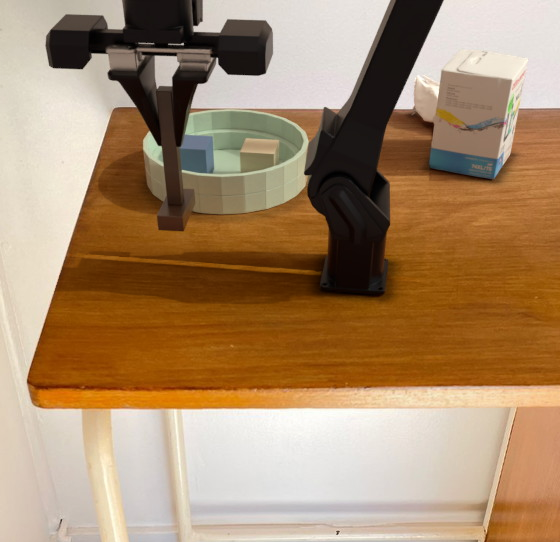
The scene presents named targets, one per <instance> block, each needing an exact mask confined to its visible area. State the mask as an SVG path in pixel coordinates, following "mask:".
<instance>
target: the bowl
mask: <svg viewBox="0 0 560 542" xmlns="http://www.w3.org/2000/svg"><path fill="white" fill-rule="evenodd" d="M185 135H199V136H212V137H213V153H214V171H213V173H212V174H206V173H196V172H191V171H186V170H182V179H183V189H194V191H195V206H194V208H193V210H192V213H193V212H194V213H198V214H208V215H209V214H210V215H239V214H248V213H253V212H259V211H265V210H268V209H271V208H275V207H277V206H281V205H283V204H285V203H287V202H289V201H291V200H292V199H294V198H295V197H298V195H299V194H300V193H301V192H303V190H304V189H305V188H306V186H307V183H308V180H309V175H307V176H306V175H304V169H305V163H306V157H307V150H308V144H309V142H310V141H309V139H308V138H309V137H308V134H307V132H306V131H305V130H304V129H303V128H302V127H301V126H299V125H298V123H296V122H293V120H290V119H288V118H286V117H283V116H279V115H277V114H273V113H269V112H265V111H264V112H263V111H259V110H251V109H238V108H237V109H236V108H235V109H234V108H226V109H208V110H202V111H194V112H190V114H189V118H188V123H187V127H186V132H185ZM246 138H252V139H269V140H279V165H276V166H273V167H270V168H267V169H264V170H259V171H253V172H247V173H241V171H240V151H241V148H242V146H243V144H244V141H245V139H246ZM142 153H143V161H144V168H145V179H146V186H147V188H148V189H149V191H150V192H151V194H152V196H153V197H155V198H156V199H158V200H160V201H161V202H162V203H163V202H164V200H165V197H166V195H167V194H166V184H165V174H164V165H163V155H162V146H158V145H157V143H156V141H155V139H154V138H153V136H152V134H151V132H150V130H149V131H148V132H147V134H146V135H145V136H144V138H143V140H142Z"/></svg>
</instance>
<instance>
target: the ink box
mask: <svg viewBox="0 0 560 542" xmlns="http://www.w3.org/2000/svg"><path fill="white" fill-rule="evenodd" d="M528 63H529V57H525V56H524V57H523V56H519V55H513V54H507V53H499V52H494V51H488V50H482V49H475V50H471V49H464V48H460V49H459V50H458V51H457V53H456V54H455V55H453V57H452V58H451V59H450V60H448V62H447V63H446V64H445V65H444V66H443V67H442V69H441V70H440V79H439V83H440V86H439V93H438V101H437V108H436V116H435V123H433V131H432V139H431V146H430V154H429V160H428V164H429V169H434V170H438V171H444V172H449V173H455V174H460V175H467V176H471V177H477V178H483V179H484V178H485V179H488V180H495V179H496V177H497V176H498V174H499V172H500V171H501V169H502V168H503V166H504V165H505V163H506V162H507V160H509V159H508V158H509V157H510V156H511V152H512V147H513V142H514V137H515V130H516V126H517V121H518V115H519V109H520V105H521V99H522V95H523V94H522V93H523V88H524V84H525V78H526V74H527V70H528V69H527V68H528V65H529V64H528Z"/></svg>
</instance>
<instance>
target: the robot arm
mask: <svg viewBox="0 0 560 542" xmlns="http://www.w3.org/2000/svg"><path fill="white" fill-rule="evenodd" d="M444 1H445V0H389V3H388V5H387V7H386V9H385V11H384V14H383V17H382V20H381V22H380V24H379V26H378V29H377V31H376V34H375V36H374V39H373V41H372V44H371V46H370V48H369V50H368V53H367V55H366V58H365V60H364V63H363V65H362V67H361V70H360V72H359V75H358V77H357V79H356V82H355V84H354V87H353V89H352V92H351V93H350V96H349V97H348V98H347V100H346V102H345V103H344V104H343V105H342V106H341V108H340V109H339V110H338V112H337V113H336V112H334V111H333V110H332V109H330V108H329V107H327V106H324V107H323V109H322V113H321V118H320V122H319V126H318V130H317V132H316V133H315V135H314V137H313V138H312V139H311V140H310V141H309V144H308V150H307V157H306V163H305V169H304V175H306V176H307V175H308V179H307V187H306V195H307V197H308V199H309V202H310V204H311V206H312V207H313V208H314V209H315V210H316V212H317V213H318V214H320V215H322V216H324V219H325V221H326V224H327V227H328V233H327V235H328V237H327V255H326V256H325V259H324V263H323V268H322V273H321V278H320V282H319V289H320V290H321V291H323V292H335V293H337V292H338V293H350V294H362V295H375V296H382V295H385V294H386V288H387V279H388V278H387V277H388V269H389V268H388V267H389V259H387V258H385V256H386V248H387V247H386V246H387V234H388V230H389V229H390V226H391V183H390V181H389V180H388V179H387V178H386V177H385V175H383V174H382V173H381V172H380V170H379V169H378V166H379V163H380V156H381V152H382V148H383V144H384V143H383V142H384V139H385V133H386V130H387V126H388V123H389V121H390V119H391V117H392V115H393V113H394V110H395V108H396V106H397V104H398V102H399V100H400V97H401V95H402V93H403V91H404V88H405V87H406V85H407V82H408V80H409V78H410V75H411V73H412V71H413V69H414V67H415V65H416V62H417V60H418V58H419V56H420V53H421V51H422V49H423V47H424V45H425V43H426V41H427V38H428V36H429V34H430V32H431V30H432V27H433V25H434V23H435V21H436V19H437V16H438V14H439V12H440V10H441V8H442V5H443V4H444ZM121 2H122V11H123V18H124V26H123V28H121V29H119V28H117V29H116V28H109V26H108V21H107V20H106V18H105V16H104V15H103V14H101V15H100V14H72V13H71V14H70V13H65V14H64V15H63V17H61V18H60V19H59V20H58V22H56V23H55V24H54V26H53V27H51V29H50V30H49V31H48V32H47V34H46V36H45V45H44V47H45V51H46V56H47V61H48V62H47V63H48V67H50V68H51V69H61V70H84V69H85V67H86V66H87V65H88V63H90V61H91V60H92V59H93V55H92V54H94V55H95V54H96V55H107V57H108V63H109V70H108V71H107V72H106V73H107V78H108V80H109V81H112V82H118V83H119V84H120V86H121V87H122V89H123V90H124V92H125V93H126V95H127V96H128V97H129V98H130V100H131V102H132V103H133V105H134V106H135V108H136V109H137V111H138V112H139V115H141V118H142V119H143V122H144V123H145V125H146V127H147V128H148V130H149V131H150V132H151V134H152V136H153V138H154V139H155V141H156V143H157V145H158V146H161V135H160V127H159V117H158V107H157V98H156V90H157V89H158V86H157V81H156V57H176V60H177V63H178V64H179V65H178V66H177V68H176V70H175V71H174V73H173V75H172V76H171V86H172V91H173V116H174V135H175V140H176V145H177V147H181V146H182V144H183V140H184V136H185V132H186V127H187V123H188V118H189V114H190V113H191V109H192V105H193V101H194V96H195V94H196V91H197V88H198V86H199V85H202V84H206V83H208V82H209V79H210V78H211V75H212V74H213V71H214V70H215V68H216V65H218V66H219V67H220V68H221V69H222V70H223V71H224V73H225V74H226V75H228V76H249V77H250V76H252V77H259V76H262V75H266V74H267V71H268V69H269V66H270V65H271V61H272V58H273V56H274V31H273V27H272V26H271V25H270V24H269V22H268V21H267V20H265V19H261V20H260V19H233V18H227V19H226V21H225V23H224V25H223V26H222V29H221V30H220V32H214V31H213V32H212V31H194V30H195V29H194V27H198V26H200V24H201V23H202V22H204V13H203V12H204V4H203V3H204V0H121Z"/></svg>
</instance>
